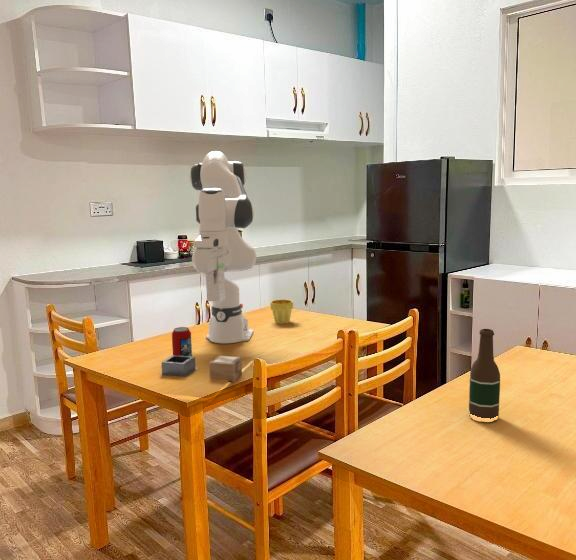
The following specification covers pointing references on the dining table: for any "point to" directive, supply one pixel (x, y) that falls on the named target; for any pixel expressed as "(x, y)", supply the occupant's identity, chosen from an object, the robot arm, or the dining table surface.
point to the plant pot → (281, 310)
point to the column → (217, 283)
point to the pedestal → (226, 368)
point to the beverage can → (182, 341)
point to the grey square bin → (178, 366)
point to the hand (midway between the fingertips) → (215, 282)
